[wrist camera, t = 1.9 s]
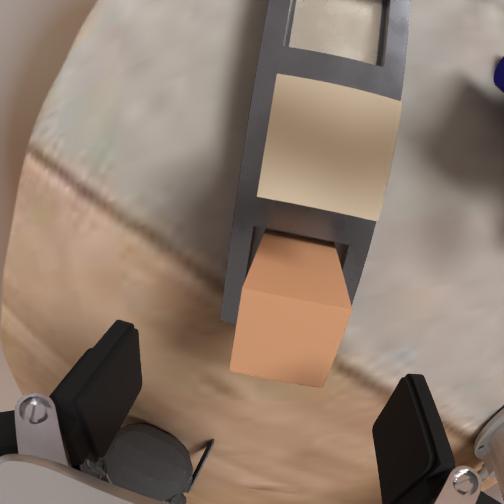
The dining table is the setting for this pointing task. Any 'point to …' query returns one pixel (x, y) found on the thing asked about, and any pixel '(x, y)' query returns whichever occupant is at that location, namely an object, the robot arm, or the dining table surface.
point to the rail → (327, 70)
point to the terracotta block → (291, 311)
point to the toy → (499, 75)
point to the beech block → (329, 147)
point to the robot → (148, 464)
